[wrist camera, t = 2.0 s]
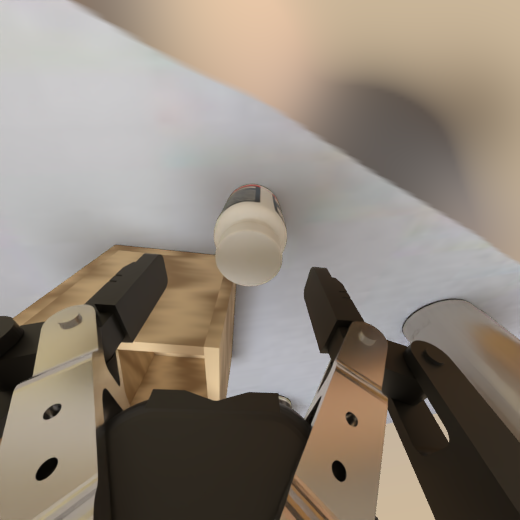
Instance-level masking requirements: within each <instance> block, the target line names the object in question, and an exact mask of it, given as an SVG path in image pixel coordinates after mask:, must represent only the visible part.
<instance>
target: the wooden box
mask: <svg viewBox="0 0 520 520" xmlns="http://www.w3.org/2000/svg"><path fill="white" fill-rule="evenodd" d="M145 253H150V254H161V255H162V256H163V258H164V263H165V268H166V272H167V277H168V283H167V287H166V289H165V291H164V292H163V294H162V296H161V297H160V299H159V301H158V302H157V304H156V305H155V307H154V309H153V310H152V312H151V314H150V315H149V317H148V319H147V320H146V322H145V323H144V325H143V327H142V328H141V330H140V332H139V333H138V335H137V336H136V338H135V340H134V341H133V343H122V342H121V344H120V345H119V346H118V348H117V350H118V353H119V359H120V365H121V371H122V377H123V383H124V389H125V393H126V396H127V399H128V401H129V405H130V407H131V406H133V405H135V404H137V403H140V402H142V401H145V400H148V399H149V397H150V395H151V393H152V390H153V389H168V390H186V391H189V392H191V393H194V394H197V395H200V396H202V397H205V398H208V399H211V400H214V401H218V400H222V399H226V395H227V387H228V380H229V373H230V366H231V358H232V343H233V327H234V310H235V294H236V284H235V283H233V282H232V281H230V280H228V279H227V278H226V277H224V276H223V275H222V273H221V272H220V271H219V269H218V267H217V265H216V259H215V255H210V254H200V253H190V252H181V251H171V250H161V249H151V248H142V247H132V246H122V245H114V246H113V247H111V248H110V249H109V250H107V251H106V252H105V253H103V254H102V255H100V256H99V257H98V258H96V259H95V260H93V261H92V262H91V263H89V264H88V265H86V266H85V267H84V268H82V269H81V270H79V271H78V272H77V273H75V274H74V275H72V276H71V277H70V278H68V279H67V280H66V281H64V282H63V283H61V284H60V285H59V286H57V287H56V288H54V289H53V290H52V291H50V292H49V293H47V294H46V295H45V296H43V297H42V298H40V299H39V300H38V301H36V302H35V303H33V304H32V305H31V306H29V307H28V308H26V309H25V310H24V311H22V312H21V313H20V314H18V315H17V316H15V317H14V318H13V319H14V320H15V322H16V323H17V324H18V325H19V326H21V325H27V324H33V323H39V322H45V321H46V320H47V319H48V318H49V317H51V316H52V315H54V314H55V313H57V312H59V311H61V310H63V309H65V308H68V307H71V306H75V305H82V304H85V303H86V302H87V301H88V300H89V299H90V298H91V297H92V296H93V295H94V294H95V293H96V292H98V291H99V290H100V289H101V288H102V287H103V286H104V285H105V284H106V283H107V282H109V280H110V279H111V278H112V277H113V276H115V275H116V273H117V272H119V271H120V270H121V269H122V268H123V267H125V266H126V265H128V264H130V263H132V262H136V261H137V260H138V259H139V258H140V257H141V256H142V255H143V254H145Z"/></svg>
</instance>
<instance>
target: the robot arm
mask: <svg viewBox="0 0 520 520" xmlns="http://www.w3.org/2000/svg"><path fill="white" fill-rule="evenodd" d="M167 283H168V277H167V272H166V268H165V263H164V258H163V256H162V255H161V254H150V253H145V254H143V255H142V256H141V257H140V258H139V259H138V260H137V261H136V262H132V263H130V264H128V265H126V266H125V267H123V268H122V269H121V270H120V271H119V272H117V273H116V275H115V276H113V277H112V278H111V279H110V280H109V282H107V283H106V284H105V285H104V286H103V287H102V288H101V289H100V290H99V291H98V292H96V293H95V294H94V295H93V296H92V297H91V298H90V299H89V300H88V301H87V302H86V303H85V304H82V305H75V306H71V307H68V308H65V309H63V310H61V311H59V312H57V313H55V314H54V315H52V316H51V317H49V318H48V319H47V320H46V321H45V322H39V323H33V324H27V325H21V326H19V325H18V324H17V323H16V322H15V320H14V319H13V318H11V317H8V316H0V439H1V438H2V441H1V445H0V520H378V518H377V517H376V516H375V514H376V505H377V496H378V488H379V479H380V470H381V462H382V453H383V444H384V435H385V426H386V417H387V409H388V411H389V414H390V416H391V418H392V420H393V423H394V425H395V427H396V430H397V432H398V434H399V437H400V439H401V441H402V443H403V446H404V448H405V450H406V453H407V455H408V457H409V460H410V462H411V464H412V467H413V469H414V471H415V474H416V475H417V478H418V480H419V483H420V485H421V487H422V489H423V492H424V494H425V497H426V499H427V501H428V503H429V506H430V508H431V510H432V513H433V515H434V517H435V520H520V340H519V339H518V338H517V337H515V336H514V335H513V334H512V333H510V332H509V331H508V330H506V329H505V328H504V327H502V326H501V325H500V324H499V323H497V322H496V321H495V320H493V319H492V318H491V317H490V316H488V315H487V314H486V313H484V312H483V311H482V310H479V309H478V308H476V307H475V306H474V305H472V304H471V303H469V302H467V301H464V300H446V301H440V302H437V303H434V304H431V305H429V306H426V307H424V308H422V309H420V310H419V311H417V312H416V313H414V314H413V315H412V316H411V317H410V318H409V319H408V320H407V321H406V323H405V324H404V327H403V333H404V335H405V337H406V338H407V340H408V341H409V342H410V345H409V346H408V347H407V346H404V345H401V344H397V343H394V342H391V341H388V340H386V338H385V336H384V335H383V334H382V333H381V332H380V331H379V330H378V329H377V328H375V327H374V326H372V325H370V324H368V323H365V322H364V320H363V319H362V317H361V315H360V313H359V312H358V310H357V308H356V307H355V305H354V303H353V301H352V300H351V299H350V296H349V295H348V293H347V291H346V289H345V288H344V286H343V284H342V283H340V282H339V281H338V280H337V279H336V278H332V277H331V275H330V273H329V271H328V270H327V268H319V267H312V268H311V269H310V272H309V276H308V279H307V282H306V285H305V289H304V299H305V302H306V306H307V309H308V313H309V316H310V319H311V323H312V326H313V330H314V333H315V336H316V340H317V343H318V347H319V350H320V353H328V354H329V355H330V358H331V360H330V362H329V364H328V366H327V368H326V371H325V373H324V375H323V378H322V380H321V382H320V385H319V387H318V389H317V392H316V394H315V396H314V399H313V401H312V403H311V405H310V407H309V409H308V411H307V413H306V415H305V417H304V418H303V417H302V416H300V415H299V414H298V413H297V412H295V411H294V410H293V409H291V408H289V407H288V406H286V405H284V404H281V403H279V394H278V393H255V392H248V393H244V394H240V395H237V396H233V397H229V398H226V399H222V400H218V401H214V400H211V399H208V398H205V397H202V396H200V395H197V394H194V393H191V392H189V391H186V390H168V389H153V390H152V393H151V395H150V397H149V399H148V400H145V401H142V402H140V403H137V404H135V405H133V406H131V407H130V405H129V401H128V399H127V396H126V393H125V389H124V383H123V377H122V371H121V365H120V359H119V353H118V350H117V348H118V346H119V345H120V344H121V342H122V343H133V341H134V340H135V338H136V336H137V335H138V333H139V332H140V330H141V328H142V327H143V325H144V323H145V322H146V320H147V319H148V317H149V315H150V314H151V312H152V310H153V309H154V307H155V305H156V304H157V302H158V301H159V299H160V297H161V296H162V294H163V292H164V291H165V289H166V287H167ZM426 398H428V400H429V401H430V403H431V404H432V406H433V408H434V409H435V411H436V413H437V414H438V416H439V418H440V419H441V421H442V423H443V424H444V426H445V428H446V430H447V432H448V435H449V442H448V441H447V439H446V437H445V435H444V434H443V432H442V430H441V429H440V427H439V425H438V424H437V422H436V420H435V418H434V417H433V415H432V413H431V412H430V410H429V408H428V406H427V405H426V403H425V401H424V399H426ZM2 436H3V437H2Z"/></svg>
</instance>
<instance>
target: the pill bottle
mask: <svg viewBox="0 0 520 520" xmlns="http://www.w3.org/2000/svg"><path fill="white" fill-rule="evenodd" d="M286 241H287V232H286V226H285V222H284V219H283V215H282V212H281V208H280V205H279V202H278V200H277V198H276V197H275V195H274V194H273V193H272V192H271V191H270V190H268V189H267V188H265V187H263V186H260V185H256V184H248V185H244V186H241V187H239V188H238V189H236V190H235V191H234V192H233V193H232V194H231V196H230V197H229V199H228V201H227V203H226V204H225V206H224V208H223V210H222V212H221V214H220V216H219V218H218V220H217V222H216V225H215V229H214V242H215V246H216V248H217V249H216V254H215V259H216V265H217V267H218V269H219V271H220V272H221V273H222V275H223V276H224V277H226V278H227V279H228V280H230V281H232V282H233V283H235V284H239V285H243V286H257V285H261V284H264V283H266V282H268V281H270V280H271V279H272V278H274V277H275V276H276V274H277V273H278V272H279V270H280V268H281V265H282V253H283V251H284V249H285V246H286Z"/></svg>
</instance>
